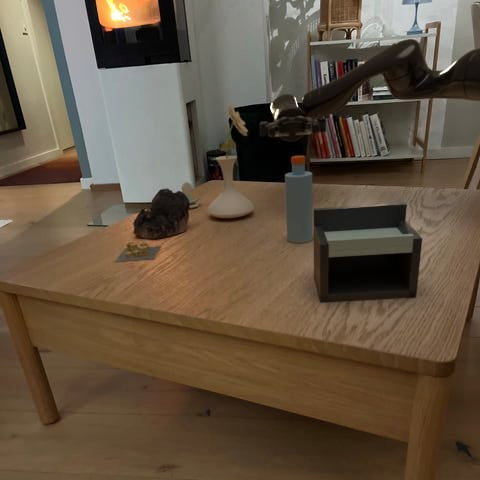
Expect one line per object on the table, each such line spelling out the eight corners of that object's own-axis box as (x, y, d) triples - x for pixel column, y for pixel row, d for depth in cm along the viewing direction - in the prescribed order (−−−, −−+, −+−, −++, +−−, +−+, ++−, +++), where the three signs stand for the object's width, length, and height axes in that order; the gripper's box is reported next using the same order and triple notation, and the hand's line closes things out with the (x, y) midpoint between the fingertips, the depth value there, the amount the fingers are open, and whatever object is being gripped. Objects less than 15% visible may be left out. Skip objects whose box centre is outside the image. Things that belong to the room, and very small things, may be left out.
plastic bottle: (311, 234, 99) (310, 153, 92) (313, 242, 95) (313, 157, 87) (286, 235, 100) (283, 155, 92) (287, 243, 95) (284, 160, 88)
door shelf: (320, 302, 71) (320, 227, 65) (313, 276, 79) (313, 208, 74) (416, 297, 70) (424, 220, 64) (399, 271, 78) (404, 202, 73)
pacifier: (196, 210, 125) (204, 203, 130) (193, 186, 122) (201, 180, 127) (171, 210, 127) (179, 203, 132) (167, 186, 124) (176, 181, 129)
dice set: (128, 250, 100) (126, 241, 99) (152, 248, 99) (150, 239, 98) (122, 258, 95) (120, 249, 94) (147, 257, 95) (145, 248, 94)
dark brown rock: (122, 242, 107) (115, 199, 101) (147, 220, 118) (141, 180, 112) (178, 247, 104) (173, 203, 98) (198, 224, 115) (195, 183, 109)
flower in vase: (238, 224, 110) (229, 106, 99) (199, 220, 116) (185, 108, 104) (266, 209, 120) (260, 100, 108) (228, 206, 125) (219, 103, 114)
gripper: (259, 107, 111) (258, 113, 97) (320, 102, 110) (329, 108, 96) (261, 141, 115) (260, 152, 100) (320, 136, 113) (328, 147, 99)
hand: (294, 130), depth 98 cm, fingers open, 8 cm apart
